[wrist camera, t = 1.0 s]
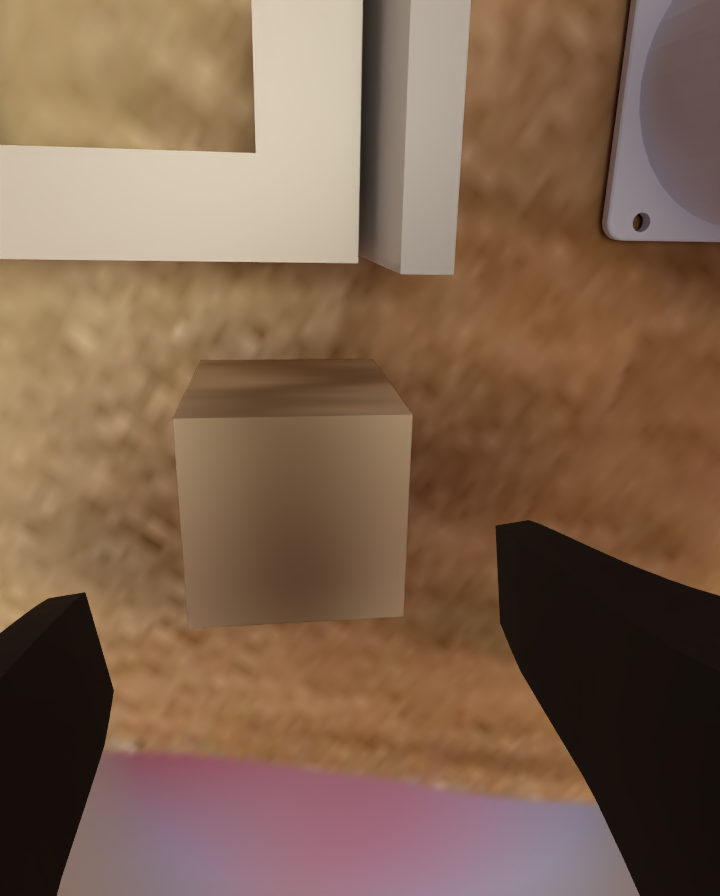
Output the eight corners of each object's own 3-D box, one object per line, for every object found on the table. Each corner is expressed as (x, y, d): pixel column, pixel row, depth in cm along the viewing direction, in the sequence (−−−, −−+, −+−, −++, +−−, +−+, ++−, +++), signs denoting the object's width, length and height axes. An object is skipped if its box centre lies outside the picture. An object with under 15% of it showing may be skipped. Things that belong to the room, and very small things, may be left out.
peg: (372, 358, 20) (412, 414, 14) (368, 511, 22) (403, 616, 16) (201, 360, 19) (172, 418, 14) (210, 517, 21) (188, 628, 15)
